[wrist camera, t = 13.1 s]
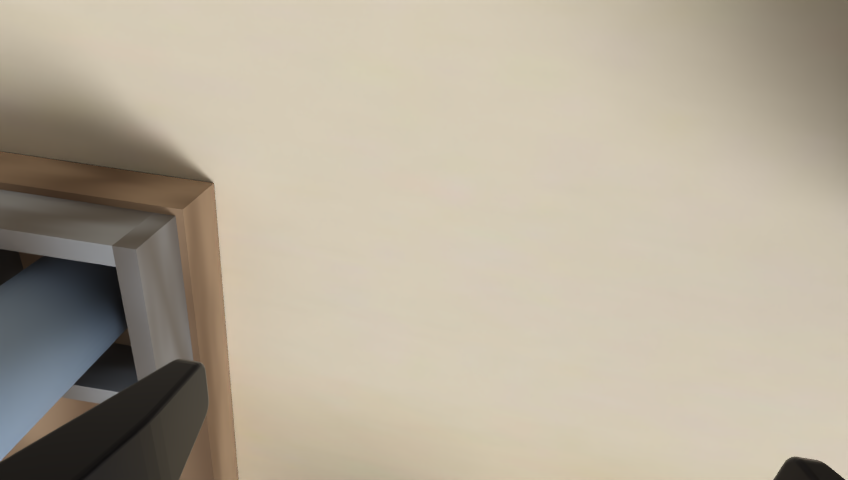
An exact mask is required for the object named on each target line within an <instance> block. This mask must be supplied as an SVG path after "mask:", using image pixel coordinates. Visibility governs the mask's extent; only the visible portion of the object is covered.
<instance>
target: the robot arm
mask: <svg viewBox="0 0 848 480" xmlns="http://www.w3.org/2000/svg"><path fill="white" fill-rule="evenodd" d="M208 406H209V395H208V386H207V377H206V370H205V366H204V365H203V363H201V362H198V361H191V360H185V359H176V360H173V361H171V362H170V363H168V364H166V365H165V366H163V367H161V368H159V369H158V370H156V371H154V372H153V373H151V374H149V375H148V376H146V377H144V378H142V379H141V380H139V381H137V382H136V383H134V384H132V385H130V386H129V387H127V388H125V389H124V390H122V391H120V392H119V393H117V394H115V395H113V396H112V397H110V398H108V399H107V400H105V401H103V402H102V403H100V404H98V405H96V406H95V407H93V408H91V409H90V410H88V411H86V412H84V413H83V414H81V415H79V416H78V417H76V418H74V419H73V420H71V421H69V422H67V423H66V424H64V425H62V426H61V427H59V428H57V429H56V430H54V431H52V432H50V433H49V434H47V435H45V436H44V437H42V438H40V439H38V440H37V441H35V442H33V443H32V444H30V445H28V446H27V447H25V448H23V449H21V450H20V451H18V452H16V453H15V454H13V455H11V456H10V457H8V458H6V459H4V460H3V461H1V462H0V480H179V479H180V476H181V474H182V472H183V469H184V467H185V465H186V462H187V460H188V457H189V455H190V453H191V450H192V448H193V446H194V443H195V441H196V438H197V436H198V434H199V431H200V429H201V427H202V424H203V422H204V419H205V417H206V414H207V411H208ZM774 480H845V479H844V478H842V477H841V476H840V475H839V474H837V473H836V472H835V471H834V470H832V469H831V468H830V467H829V466H827V465H826V464H825V463H823V462H821V461H818V460H813V459H807V458H801V457H791V458H789V459H787V460H786V461H785V463H784V464H783V466H782V467H781V469H780V470H779V472H778V473H777V475H776V476H775V478H774Z"/></svg>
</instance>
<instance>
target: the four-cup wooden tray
mask: <svg viewBox="0 0 848 480" xmlns="http://www.w3.org/2000/svg"><path fill="white" fill-rule="evenodd" d="M43 256H49V257H55V258H62V259H68V260H75V261H81V262H88V263H94V264H101V265H107V266H113V267H116V270H117V275H118V280H119V286H120V291H121V296H122V301H123V306H124V312H125V317H126V322H127V327H128V328H127V329H126V330H125V331H124V332H123V333H122V334H121V335H120V336H119V337H118V338H117V339H116V341H115V342H114V343H113V344H112V345H111V346H110V347H109V348H108V349H107V350H106V351H105V352H104V353H103V354H102V355H101V356H100V357H99V358H98V359H97V360H96V362H95V363H94V364H93V365H92V366H91V367H90V368H89V369H88V370H87V371H86V372H85V373H84V374H83V375H82V376H81V377H80V378H79V379H78V380H77V381H76V382H75V384H74V385H73V386H72V387H71V388H70V389H69V390H68V391H67V392H66V393H65V394H64V395H63V396H62V397H61V398H60V399H59V400H58V401H57V402H56V403H55V404H54V406H53V407H52V408H51V409H50V410H49V411H48V412H47V413H46V414H45V415H44V416H43V417H42V418H41V419H40V420H39V421H38V422H37V423H36V424H35V425H34V427H33V428H32V429H31V430H30V431H29V432H28V433H27V434H26V435H25V436H24V437H23V438H22V439H21V440H20V441H19V442H18V443H17V444H16V445H15V446H14V447H13V449H12V450H11V451H10V452H9V453H8V454H7V455H6V456H5V457H4V458H3V459H2V460H1V461H3V460H4V459H6V458H8V457H10V456H11V455H13V454H15V453H16V452H18V451H20V450H21V449H23V448H25V447H27V446H28V445H30V444H32V443H33V442H35V441H37V440H38V439H40V438H42V437H44V436H45V435H47V434H49V433H50V432H52V431H54V430H56V429H57V428H59V427H61V426H62V425H64V424H66V423H67V422H69V421H71V420H73V419H74V418H76V417H78V416H79V415H81V414H83V413H84V412H86V411H88V410H90V409H91V408H93V407H95V406H96V405H98V404H100V403H102V402H103V401H105V400H107V399H108V398H110V397H112V396H113V395H115V394H117V393H119V392H120V391H122V390H124V389H125V388H127V387H129V386H130V385H132V384H134V383H136V382H137V381H139V380H141V379H142V378H144V377H146V376H148V375H149V374H151V373H153V372H154V371H156V370H158V369H159V368H161V367H163V366H165V365H166V364H168V363H170V362H171V361H173V360H176V359H185V360H191V361H198V362H201V363H203V365H204V366H205V370H206V377H207V386H208V395H209V406H208V411H207V414H206V417H205V419H204V422H203V424H202V427H201V429H200V431H199V434H198V436H197V438H196V441H195V443H194V446H193V448H192V450H191V453H190V455H189V457H188V460H187V462H186V465H185V467H184V469H183V472H182V474H181V476H180V479H179V480H238V470H237V458H236V446H235V434H234V422H233V409H232V397H231V385H230V373H229V361H228V349H227V337H226V325H225V313H224V300H223V288H222V276H221V264H220V252H219V240H218V228H217V216H216V203H215V191H214V183H209V182H203V181H196V180H189V179H182V178H176V177H169V176H162V175H155V174H148V173H142V172H135V171H128V170H121V169H115V168H108V167H101V166H94V165H88V164H81V163H74V162H67V161H61V160H54V159H47V158H40V157H34V156H27V155H20V154H13V153H7V152H0V286H1V285H2V284H4V283H5V282H6V281H8V280H9V279H11V278H12V277H14V276H15V275H17V274H18V273H19V272H21V271H22V270H24V269H25V268H27V267H28V266H30V265H31V264H33V263H34V262H35V261H37V260H38V259H40V258H41V257H43ZM1 461H0V462H1Z"/></svg>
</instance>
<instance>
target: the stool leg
mask: <svg viewBox="0 0 848 480" xmlns="http://www.w3.org/2000/svg"><path fill="white" fill-rule="evenodd" d="M127 328H128V327H127V322H126V317H125V312H124V306H123V301H122V296H121V291H120V286H119V280H118V275H117V270H116V267H113V266H107V265H101V264H94V263H88V262H81V261H75V260H68V259H62V258H55V257H49V256H43V257H41V258H40V259H38V260H37V261H35V262H34V263H33V264H31V265H30V266H28V267H27V268H25V269H24V270H22V271H21V272H19V273H18V274H17V275H15V276H14V277H12V278H11V279H9V280H8V281H6V282H5V283H4V284H2V285H1V286H0V461H1V460H2V459H3V458H4V457H5V456H6V455H7V454H8V453H9V452H10V451H11V450H12V449H13V447H14V446H15V445H16V444H17V443H18V442H19V441H20V440H21V439H22V438H23V437H24V436H25V435H26V434H27V433H28V432H29V431H30V430H31V429H32V428H33V427H34V425H35V424H36V423H37V422H38V421H39V420H40V419H41V418H42V417H43V416H44V415H45V414H46V413H47V412H48V411H49V410H50V409H51V408H52V407H53V406H54V404H55V403H56V402H57V401H58V400H59V399H60V398H61V397H62V396H63V395H64V394H65V393H66V392H67V391H68V390H69V389H70V388H71V387H72V386H73V385H74V384H75V382H76V381H77V380H78V379H79V378H80V377H81V376H82V375H83V374H84V373H85V372H86V371H87V370H88V369H89V368H90V367H91V366H92V365H93V364H94V363H95V362H96V360H97V359H98V358H99V357H100V356H101V355H102V354H103V353H104V352H105V351H106V350H107V349H108V348H109V347H110V346H111V345H112V344H113V343H114V342H115V341H116V339H117V338H118V337H119V336H120V335H121V334H122V333H123V332H124V331H125V330H126V329H127Z"/></svg>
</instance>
